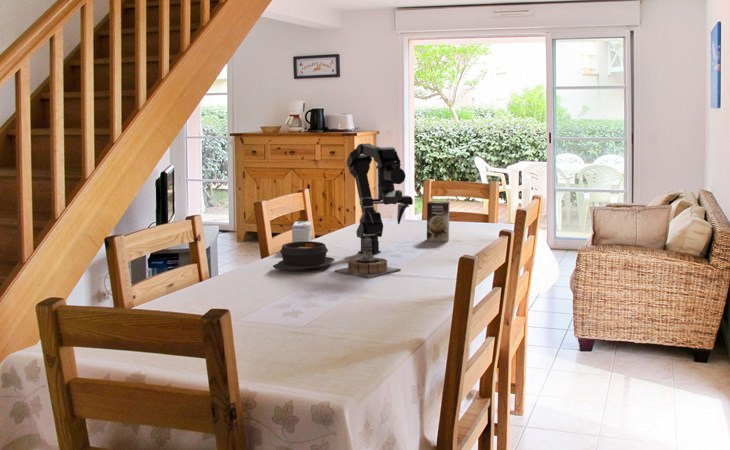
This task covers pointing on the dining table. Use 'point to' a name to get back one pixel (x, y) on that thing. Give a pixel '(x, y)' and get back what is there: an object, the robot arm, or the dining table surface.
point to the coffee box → (438, 221)
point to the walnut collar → (367, 268)
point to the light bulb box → (301, 231)
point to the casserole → (303, 256)
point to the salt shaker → (367, 251)
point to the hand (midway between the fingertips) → (386, 224)
